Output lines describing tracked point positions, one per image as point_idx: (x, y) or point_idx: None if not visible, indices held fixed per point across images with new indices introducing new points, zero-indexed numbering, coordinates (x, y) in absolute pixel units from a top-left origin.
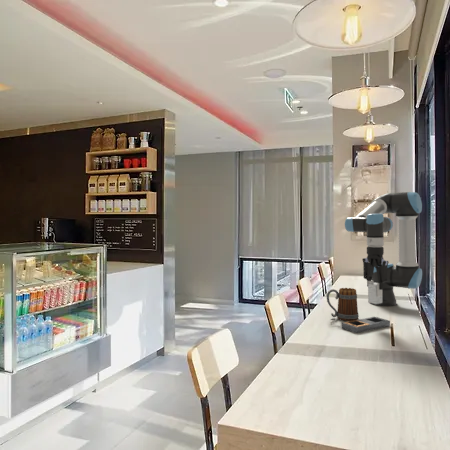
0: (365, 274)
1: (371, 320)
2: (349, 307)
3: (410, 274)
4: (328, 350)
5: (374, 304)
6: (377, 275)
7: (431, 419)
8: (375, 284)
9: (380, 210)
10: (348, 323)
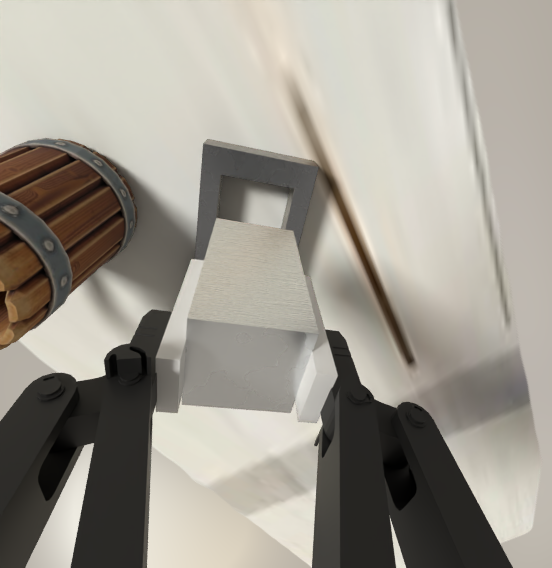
0: (58, 498)
1: (219, 194)
2: (93, 272)
3: None
4: (300, 468)
5: None
6: (317, 526)
7: (519, 514)
8: (271, 394)
9: None
10: None
